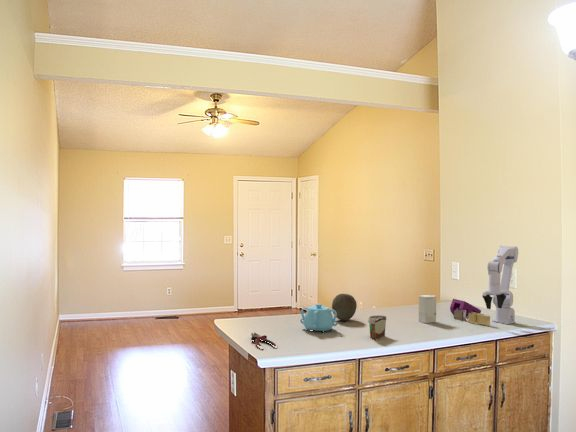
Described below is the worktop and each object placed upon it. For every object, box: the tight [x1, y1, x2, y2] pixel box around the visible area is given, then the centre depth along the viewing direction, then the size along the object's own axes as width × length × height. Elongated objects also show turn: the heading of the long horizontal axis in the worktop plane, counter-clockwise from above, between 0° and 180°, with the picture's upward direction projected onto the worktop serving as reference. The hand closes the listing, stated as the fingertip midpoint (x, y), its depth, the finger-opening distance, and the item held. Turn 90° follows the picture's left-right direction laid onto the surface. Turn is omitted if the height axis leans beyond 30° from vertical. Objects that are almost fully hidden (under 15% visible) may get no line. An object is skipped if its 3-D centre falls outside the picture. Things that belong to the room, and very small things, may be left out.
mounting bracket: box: [449, 298, 482, 318], centre depth 295 cm, size 9×8×18 cm
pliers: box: [250, 331, 277, 346], centre depth 229 cm, size 3×9×22 cm
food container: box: [367, 315, 387, 341], centre depth 241 cm, size 12×6×10 cm, turn 141°
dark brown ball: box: [331, 293, 357, 322], centre depth 277 cm, size 14×14×15 cm
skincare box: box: [418, 294, 437, 324], centre depth 275 cm, size 8×6×15 cm
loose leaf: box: [467, 312, 491, 327], centre depth 270 cm, size 11×5×5 cm, turn 35°
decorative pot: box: [299, 303, 338, 332], centre depth 255 cm, size 16×16×14 cm
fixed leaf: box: [453, 310, 467, 322], centre depth 280 cm, size 7×2×6 cm, turn 35°
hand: (494, 308), depth 264 cm, fingers open, 7 cm apart
